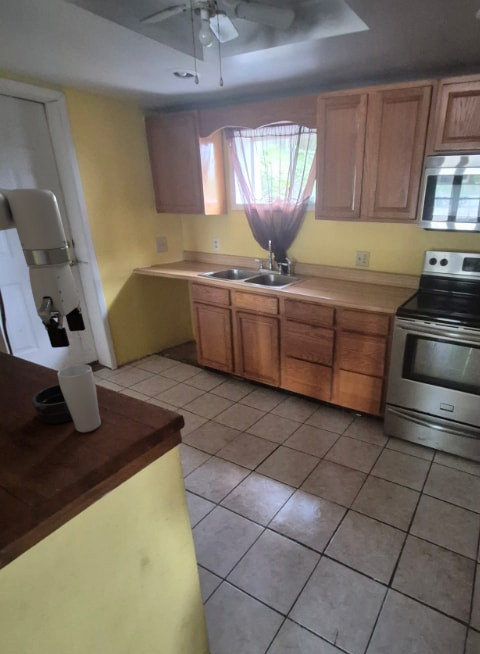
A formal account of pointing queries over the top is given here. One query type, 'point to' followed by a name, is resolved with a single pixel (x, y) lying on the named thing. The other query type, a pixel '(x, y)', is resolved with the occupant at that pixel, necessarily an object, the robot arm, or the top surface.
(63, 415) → the bowl
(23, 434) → the top surface
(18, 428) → the top surface
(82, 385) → the drinking glass
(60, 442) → the top surface
